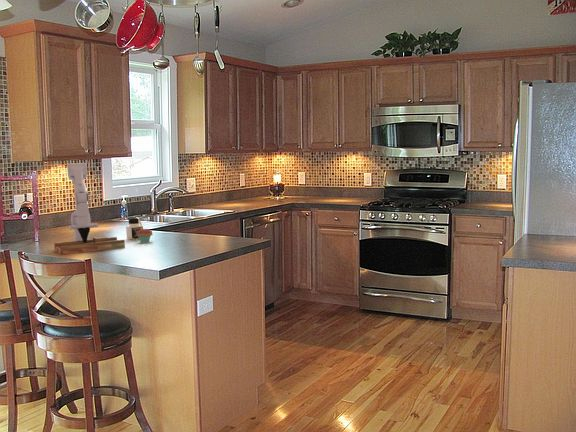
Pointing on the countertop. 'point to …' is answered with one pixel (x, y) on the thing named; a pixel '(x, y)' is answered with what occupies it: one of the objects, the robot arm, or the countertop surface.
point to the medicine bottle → (133, 228)
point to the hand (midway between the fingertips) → (84, 242)
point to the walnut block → (100, 239)
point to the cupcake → (144, 234)
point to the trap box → (88, 246)
